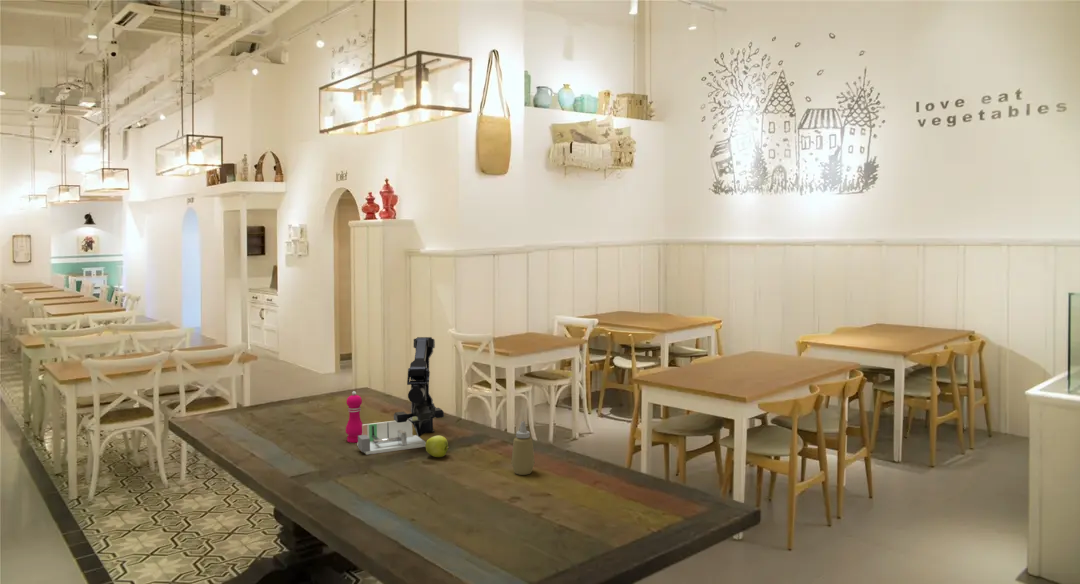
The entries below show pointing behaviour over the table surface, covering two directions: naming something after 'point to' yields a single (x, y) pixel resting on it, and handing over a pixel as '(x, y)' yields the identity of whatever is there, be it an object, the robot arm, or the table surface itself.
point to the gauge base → (384, 432)
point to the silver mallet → (401, 438)
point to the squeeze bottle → (523, 452)
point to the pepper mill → (354, 418)
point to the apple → (437, 446)
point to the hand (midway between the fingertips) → (419, 436)
